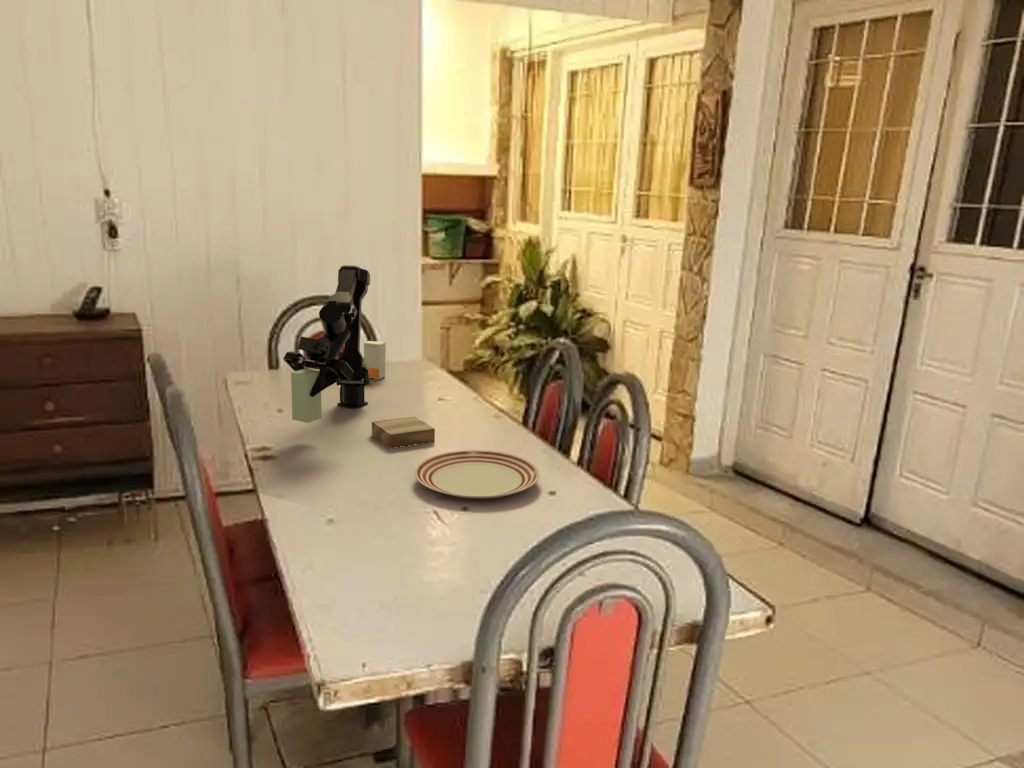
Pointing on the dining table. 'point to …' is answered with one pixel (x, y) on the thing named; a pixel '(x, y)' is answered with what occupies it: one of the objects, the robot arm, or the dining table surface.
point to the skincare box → (375, 358)
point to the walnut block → (403, 431)
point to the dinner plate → (477, 473)
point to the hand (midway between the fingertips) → (302, 394)
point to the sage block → (305, 396)
